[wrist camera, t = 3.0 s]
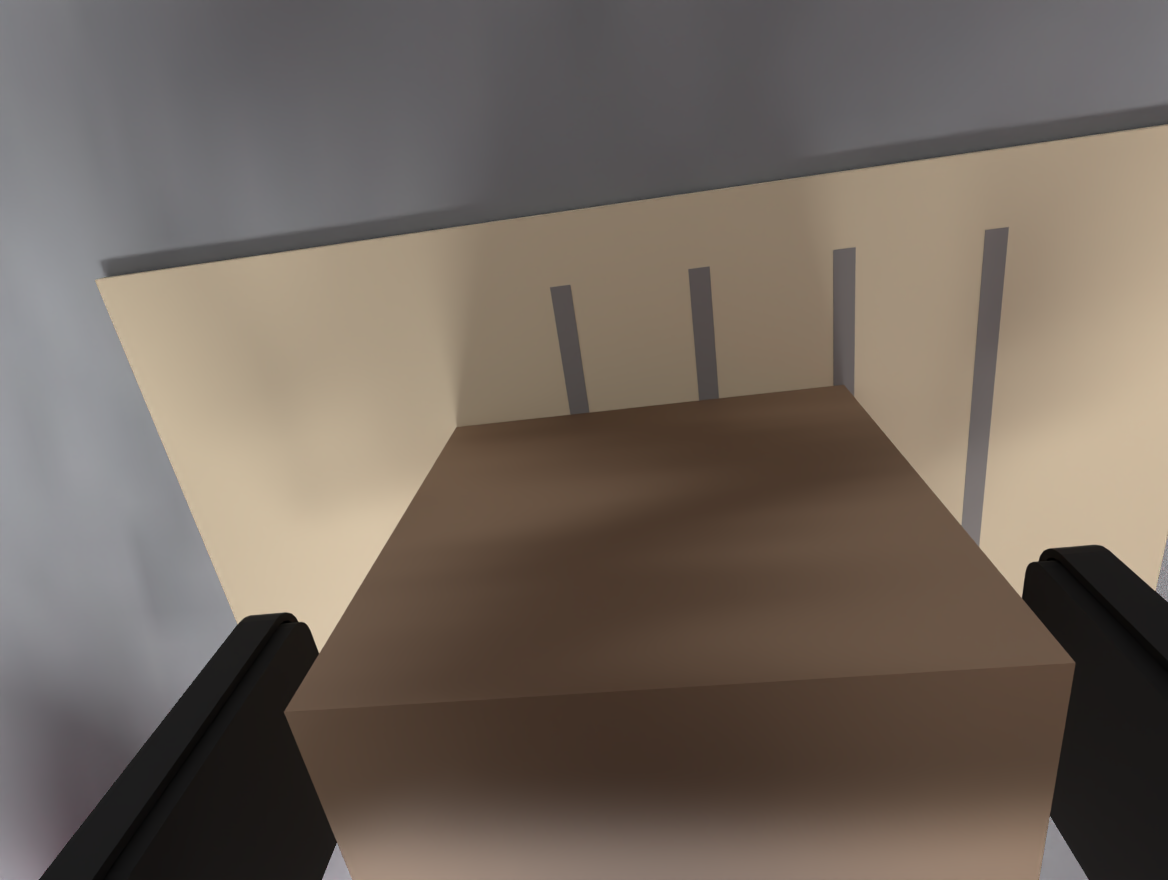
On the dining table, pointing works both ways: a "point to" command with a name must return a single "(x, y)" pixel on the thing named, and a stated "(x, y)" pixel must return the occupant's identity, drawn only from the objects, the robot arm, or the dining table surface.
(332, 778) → the block
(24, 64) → the dining table surface
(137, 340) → the letter
